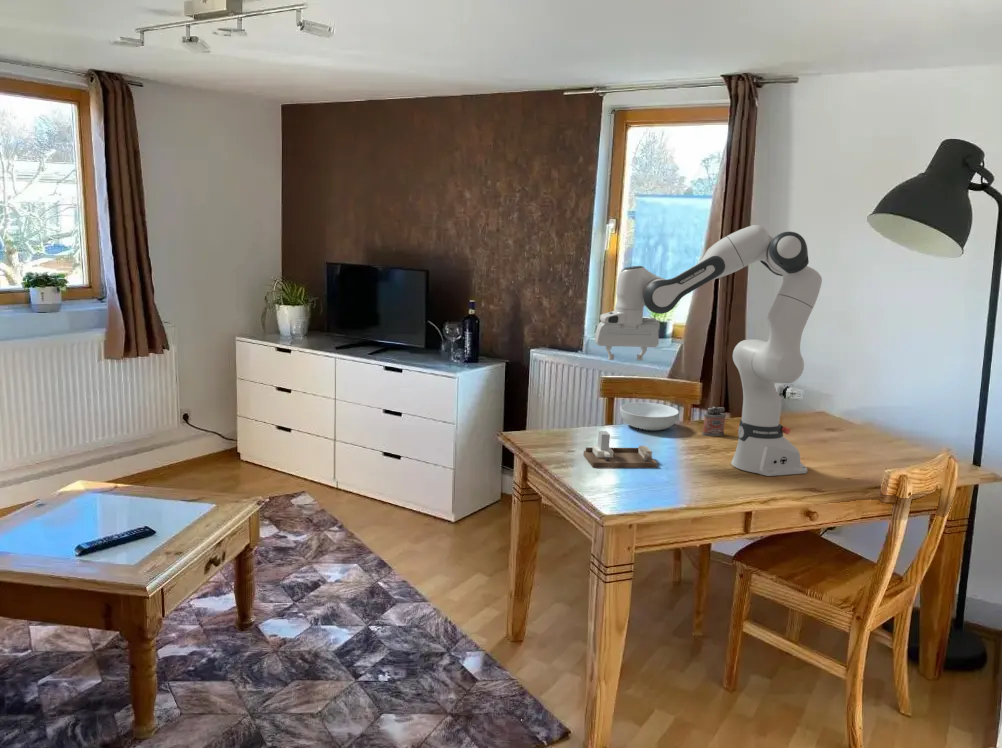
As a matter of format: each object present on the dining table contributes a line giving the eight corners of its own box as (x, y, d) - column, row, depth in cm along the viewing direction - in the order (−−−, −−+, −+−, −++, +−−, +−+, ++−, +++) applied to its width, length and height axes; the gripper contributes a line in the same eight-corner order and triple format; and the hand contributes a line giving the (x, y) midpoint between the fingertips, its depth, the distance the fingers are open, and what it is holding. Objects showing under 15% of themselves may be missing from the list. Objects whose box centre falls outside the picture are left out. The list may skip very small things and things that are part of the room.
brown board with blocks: (644, 455, 255) (645, 444, 254) (656, 467, 244) (657, 455, 243) (583, 455, 252) (584, 444, 252) (592, 467, 241) (593, 455, 240)
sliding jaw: (607, 451, 252) (609, 430, 250) (615, 460, 243) (617, 438, 241) (592, 451, 251) (593, 430, 250) (599, 460, 242) (601, 438, 241)
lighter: (704, 436, 282) (707, 408, 280) (700, 433, 285) (703, 406, 283) (725, 435, 283) (728, 408, 281) (720, 433, 287) (723, 405, 285)
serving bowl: (608, 421, 296) (609, 403, 294) (657, 418, 303) (659, 401, 302) (637, 437, 277) (638, 417, 275) (688, 433, 284) (690, 414, 283)
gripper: (657, 316, 259) (653, 359, 262) (595, 315, 256) (592, 357, 259) (663, 319, 253) (659, 362, 256) (600, 317, 250) (597, 361, 253)
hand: (625, 360), depth 257 cm, fingers open, 8 cm apart
